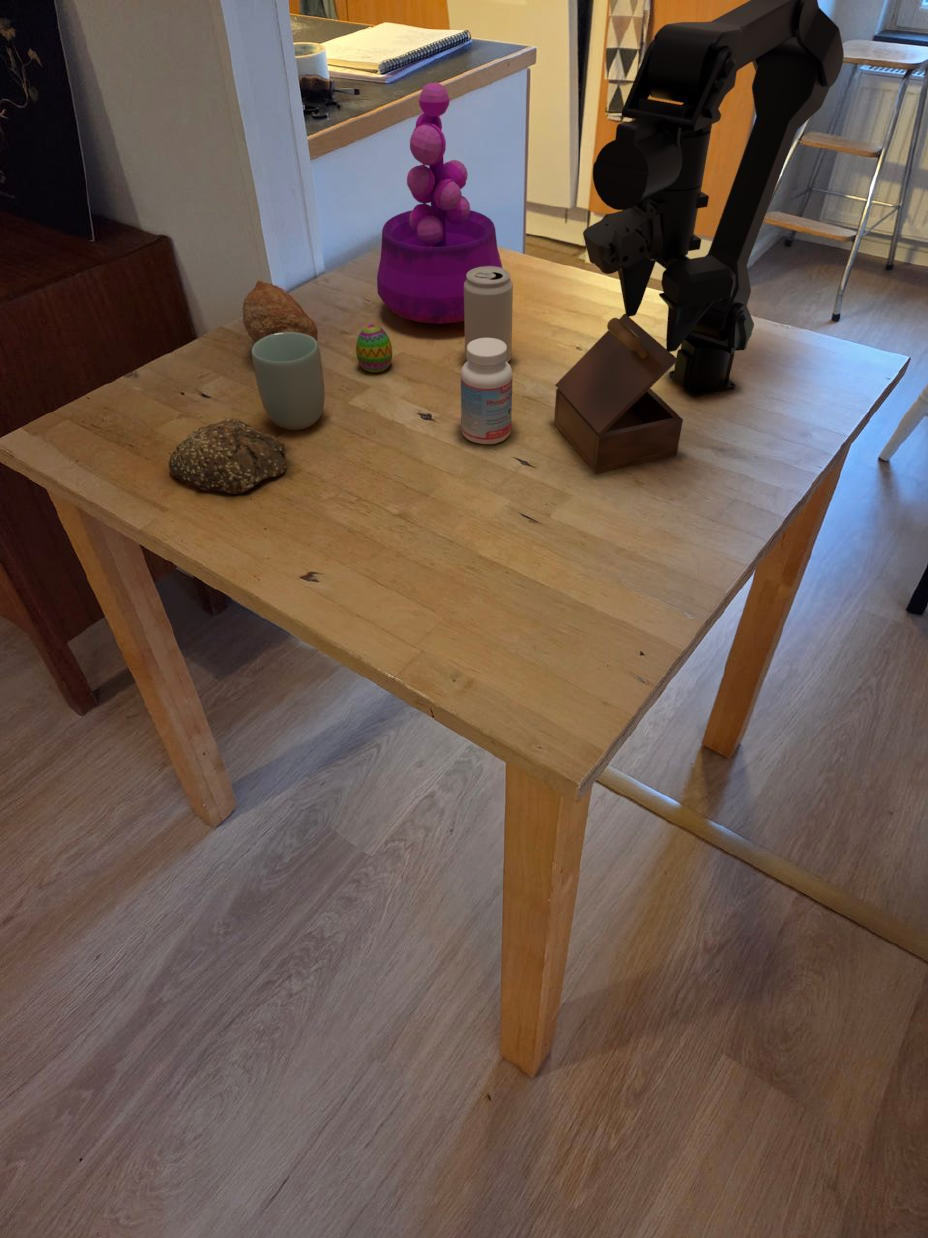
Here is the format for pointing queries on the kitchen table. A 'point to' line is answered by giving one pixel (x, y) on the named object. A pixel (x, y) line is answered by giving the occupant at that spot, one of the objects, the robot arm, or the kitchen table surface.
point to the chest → (622, 433)
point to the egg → (374, 349)
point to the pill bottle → (486, 392)
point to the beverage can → (488, 306)
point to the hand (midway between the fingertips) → (650, 332)
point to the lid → (615, 373)
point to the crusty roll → (274, 313)
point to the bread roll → (227, 457)
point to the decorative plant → (433, 229)
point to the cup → (289, 379)
